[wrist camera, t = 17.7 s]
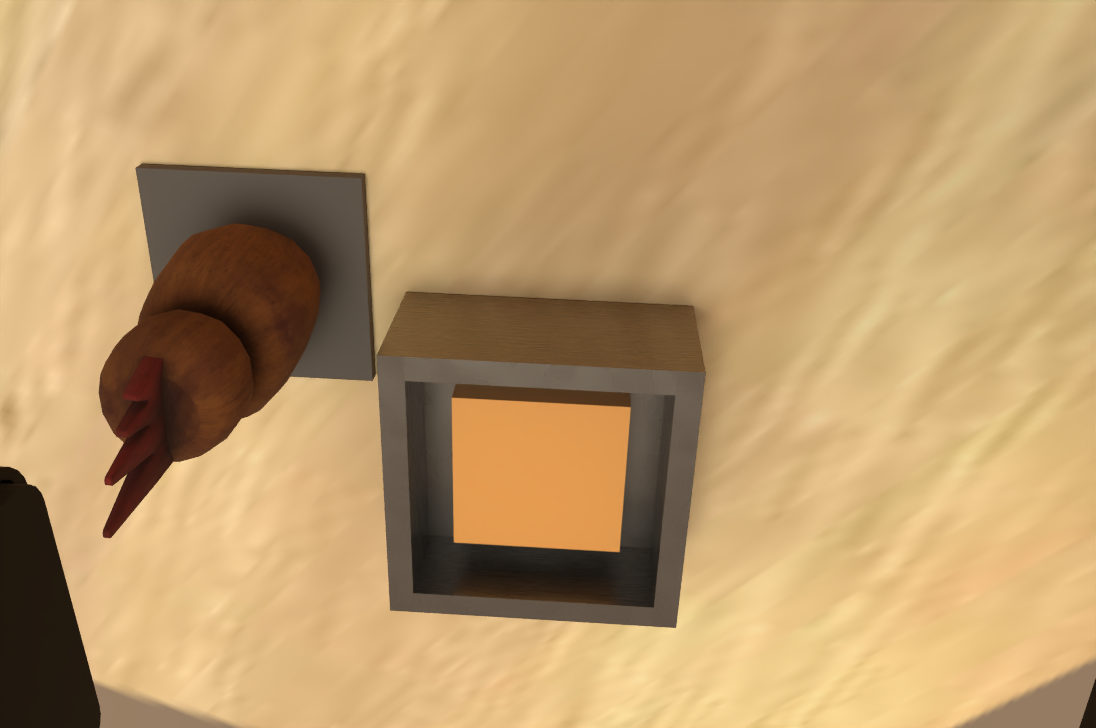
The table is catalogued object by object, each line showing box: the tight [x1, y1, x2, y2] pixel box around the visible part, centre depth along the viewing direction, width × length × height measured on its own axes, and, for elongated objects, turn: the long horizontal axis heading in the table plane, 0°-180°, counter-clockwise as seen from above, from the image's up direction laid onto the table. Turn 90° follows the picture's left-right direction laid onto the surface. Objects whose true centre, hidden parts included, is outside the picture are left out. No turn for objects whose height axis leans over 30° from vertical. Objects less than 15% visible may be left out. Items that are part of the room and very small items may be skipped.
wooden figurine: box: [99, 223, 320, 538], centre depth 35 cm, size 7×6×15 cm
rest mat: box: [136, 164, 375, 381], centre depth 41 cm, size 9×9×1 cm
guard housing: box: [377, 292, 706, 628], centre depth 42 cm, size 12×12×6 cm
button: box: [452, 384, 631, 552], centre depth 41 cm, size 7×7×2 cm
